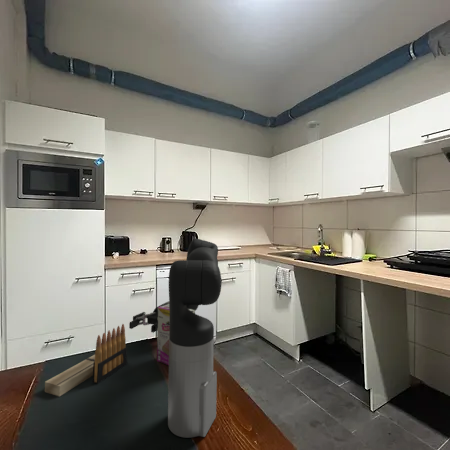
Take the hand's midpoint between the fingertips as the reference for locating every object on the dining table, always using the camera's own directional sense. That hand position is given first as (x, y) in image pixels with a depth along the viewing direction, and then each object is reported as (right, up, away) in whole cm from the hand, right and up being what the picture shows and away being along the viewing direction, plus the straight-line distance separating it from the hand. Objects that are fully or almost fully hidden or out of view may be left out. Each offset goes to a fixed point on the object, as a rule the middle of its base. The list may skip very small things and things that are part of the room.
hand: (141, 327), depth 84 cm
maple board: (-11, -7, -15) cm, 20 cm away
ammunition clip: (-4, -8, -13) cm, 16 cm away
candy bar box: (+13, -8, -8) cm, 17 cm away
